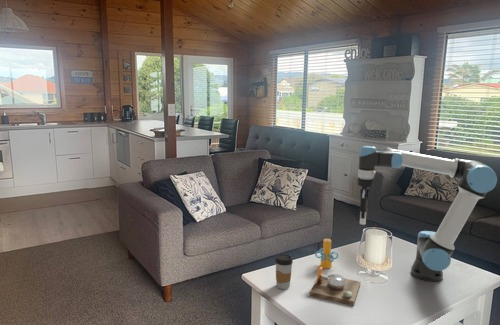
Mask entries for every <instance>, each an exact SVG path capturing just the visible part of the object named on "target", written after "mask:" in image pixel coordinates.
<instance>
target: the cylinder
mask: <svg viewBox="0 0 500 325" xmlns="http://www.w3.org/2000/svg"><path fill="white" fill-rule="evenodd" d="M322 246H323V247H322V248H320V249H319V250H317V251H316V252H315V253H314V254H315V255H314V256H315V257H316V259H320V265H319V266H320V267H323V269H331V268H332V266H333V262H334V261H335V260H337V259H338V258H339V254H338V252H336V251H332V239H331V238H324V239H323V244H322ZM318 253H319V254H320V256H318ZM333 254H335V255H336V257H334V255H333Z"/></svg>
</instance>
